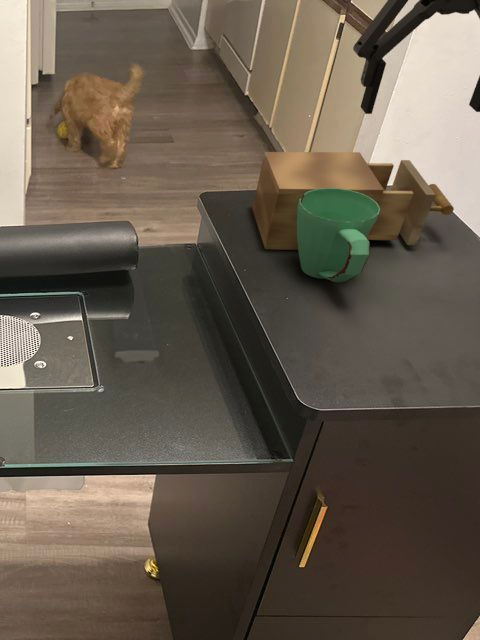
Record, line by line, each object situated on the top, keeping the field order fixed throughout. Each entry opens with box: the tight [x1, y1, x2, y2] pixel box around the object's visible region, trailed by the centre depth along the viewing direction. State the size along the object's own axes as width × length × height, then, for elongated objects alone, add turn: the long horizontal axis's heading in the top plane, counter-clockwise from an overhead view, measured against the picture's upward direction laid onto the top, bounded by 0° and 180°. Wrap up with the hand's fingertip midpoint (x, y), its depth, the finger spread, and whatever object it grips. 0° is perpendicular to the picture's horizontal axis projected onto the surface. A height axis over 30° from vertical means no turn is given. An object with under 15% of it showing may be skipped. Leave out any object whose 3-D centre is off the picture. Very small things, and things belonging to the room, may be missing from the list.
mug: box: [297, 188, 380, 283], centre depth 97 cm, size 15×10×10 cm
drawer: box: [366, 159, 455, 246], centre depth 106 cm, size 17×11×8 cm
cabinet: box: [251, 151, 384, 251], centre depth 107 cm, size 14×13×10 cm
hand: (420, 109), depth 97 cm, fingers open, 13 cm apart
